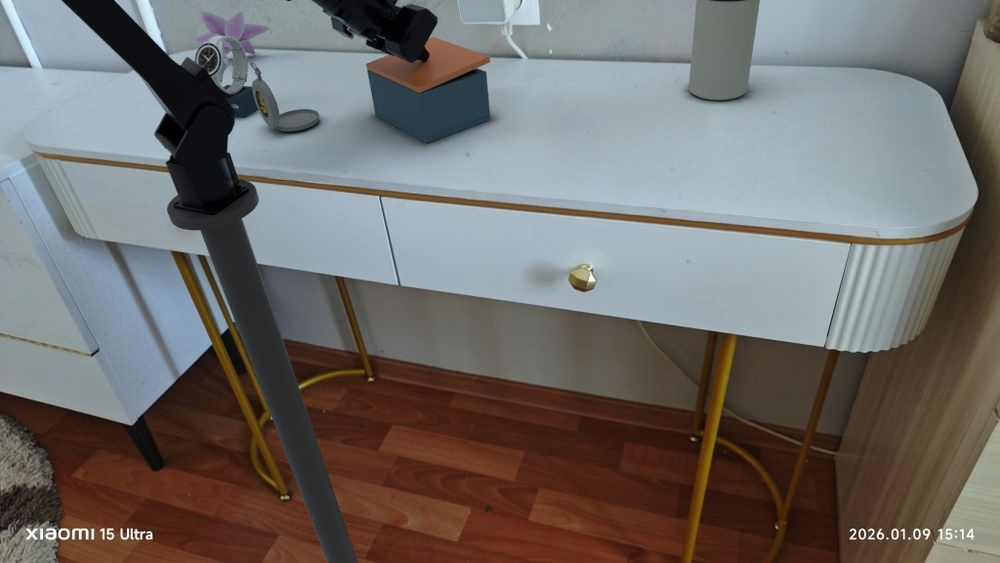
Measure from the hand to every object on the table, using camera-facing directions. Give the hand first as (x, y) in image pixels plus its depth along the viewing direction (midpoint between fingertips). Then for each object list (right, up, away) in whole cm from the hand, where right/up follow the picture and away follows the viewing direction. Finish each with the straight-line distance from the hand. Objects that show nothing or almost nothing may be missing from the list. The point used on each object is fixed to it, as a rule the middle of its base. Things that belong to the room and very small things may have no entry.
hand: (427, 57), depth 93 cm
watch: (-30, -4, +13) cm, 33 cm away
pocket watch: (-20, -8, +6) cm, 23 cm away
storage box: (0, -7, +5) cm, 9 cm away
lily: (-38, +10, +33) cm, 51 cm away
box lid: (0, -1, +1) cm, 1 cm away
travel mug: (+41, -3, +5) cm, 41 cm away
